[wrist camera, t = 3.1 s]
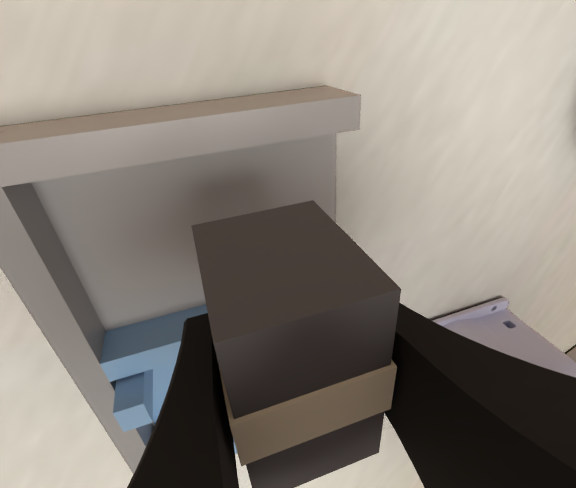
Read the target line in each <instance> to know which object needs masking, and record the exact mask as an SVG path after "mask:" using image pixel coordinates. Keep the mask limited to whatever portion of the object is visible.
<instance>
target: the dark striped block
mask: <svg viewBox="0 0 576 488" xmlns="http://www.w3.org/2000/svg"><path fill="white" fill-rule="evenodd" d="M191 226H192V232H193V237H194V242H195V248H196V253H197V258H198V264H199V269H200V274H201V280H202V285H203V290H204V296H205V301H206V306H207V312H208V317H209V322H210V328H211V333H212V338H213V344H214V348H215V351H216V355H217V361H218V366H219V371H220V377H221V382H222V387H223V392H224V398H225V403H226V408H227V413H228V419H229V424H230V428H231V432H232V435H233V439H234V442H235V446H236V449H237V453H238V456H239V460H240V463H241V466H243V465H246V466H247V470H248V474H249V478H250V481H251V485H252V488H294V487H297V486H299V485H301V484H304V483H306V482H309V481H311V480H314V479H316V478H318V477H321V476H323V475H326V474H328V473H330V472H333V471H335V470H338V469H340V468H343V467H345V466H347V465H350V464H352V463H355V462H357V461H359V460H362V459H364V458H367V457H369V456H372V455H374V454H376V453H379V447H380V440H381V432H382V425H383V418H384V411H387V410H389V409H391V404H392V397H393V391H394V384H395V378H396V371H397V366H396V365H395V363H394V362H393V361H392V352H393V345H394V337H395V330H396V323H397V315H398V308H399V301H400V293H401V289H400V288H399V286H398V285H397V284H396V283H395V282H394V281H393V280H392V279H391V278H390V277H389V276H388V275H387V274H386V273H385V272H384V271H383V270H382V269H381V268H380V267H379V266H378V265H377V264H376V263H375V262H374V261H373V260H372V259H371V258H370V257H369V256H368V255H367V254H366V253H365V252H364V251H363V250H362V249H361V248H360V247H359V246H358V245H357V244H356V243H355V242H354V241H353V240H352V239H351V238H350V237H349V236H348V235H347V234H346V233H345V232H344V231H343V230H342V229H341V228H340V227H339V226H338V225H337V224H336V223H335V222H334V221H333V220H332V219H331V218H330V217H329V216H328V215H327V214H326V213H325V212H324V211H323V210H322V209H321V208H320V207H319V206H318V205H317V204H316V203H315V202H314V201H313V200H311V201H307V202H302V203H297V204H292V205H287V206H283V207H278V208H273V209H268V210H263V211H259V212H254V213H249V214H244V215H239V216H235V217H230V218H225V219H220V220H215V221H210V222H206V223H201V224H196V225H191Z"/></svg>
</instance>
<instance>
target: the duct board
mask: <svg viewBox="0 0 576 488" xmlns="http://www.w3.org/2000/svg"><path fill="white" fill-rule="evenodd" d="M360 104H361V95H359V94H355V93H351V92H348V91H344V90H340V89H336V88H333V87H329V86H321V87H313V88H305V89H297V90H289V91H281V92H273V93H265V94H257V95H249V96H241V97H233V98H225V99H217V100H209V101H200V102H192V103H184V104H176V105H168V106H160V107H152V108H144V109H136V110H128V111H120V112H112V113H104V114H96V115H88V116H80V117H72V118H64V119H56V120H48V121H40V122H32V123H24V124H16V125H8V126H0V267H1V269H2V271H3V272H4V274H5V275H6V277H7V278H8V280H9V281H10V283H11V285H12V286H13V288H14V289H15V291H16V292H17V294H18V295H19V297H20V298H21V300H22V302H23V303H24V305H25V306H26V308H27V309H28V311H29V312H30V314H31V316H32V317H33V319H34V320H35V322H36V323H37V325H38V326H39V328H40V330H41V331H42V333H43V334H44V336H45V337H46V339H47V340H48V342H49V344H50V345H51V347H52V348H53V350H54V351H55V353H56V354H57V356H58V357H59V359H60V361H61V362H62V364H63V365H64V367H65V368H66V370H67V371H68V373H69V375H70V376H71V378H72V379H73V381H74V382H75V384H76V385H77V387H78V389H79V390H80V392H81V393H82V395H83V396H84V398H85V399H86V401H87V403H88V404H89V406H90V407H91V409H92V410H93V412H94V413H95V415H96V416H97V418H98V420H99V421H100V423H101V424H102V426H103V427H104V429H105V430H106V432H107V434H108V435H109V437H110V438H111V440H112V441H113V443H114V444H115V446H116V448H117V449H118V451H119V452H120V454H121V455H122V457H123V458H124V460H125V462H126V463H127V465H128V466H129V468H130V469H131V471H132V472H133V474H134V473H135V471H136V468H137V466H138V464H139V462H140V459H141V457H142V455H143V453H144V450H145V448H146V446H147V443H148V441H149V439H150V436H151V434H152V431H153V429H154V426H155V424H156V421H157V418H158V416H159V413H160V410H161V407H162V405H163V402H164V399H165V396H166V393H167V391H168V387H169V384H170V381H171V378H172V374H173V371H174V367H175V364H176V360H177V356H178V352H179V348H180V344H181V339H182V333H183V326H184V322H185V320H186V319H187V318H191V317H194V316H198V315H202V314H206V313H208V312H207V306H206V301H205V296H204V290H203V285H202V280H201V274H200V269H199V264H198V258H197V253H196V248H195V242H194V237H193V232H192V226H191V225H196V224H201V223H206V222H210V221H215V220H220V219H225V218H230V217H235V216H239V215H244V214H249V213H254V212H259V211H263V210H268V209H273V208H278V207H283V206H287V205H292V204H297V203H302V202H307V201H311V200H313V201H314V202H315V203H316V204H317V205H318V206H319V207H320V208H321V209H322V210H323V211H324V212H325V213H326V214H327V215H328V216H329V217H330V218H331V219H332V220H333V221H334V222H335V214H336V133H340V132H346V131H352V130H358V129H359V126H360ZM233 441H234V439H233ZM234 451H235V453H237V449H236V446H235V442H234Z"/></svg>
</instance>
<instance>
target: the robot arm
mask: <svg viewBox="0 0 576 488" xmlns="http://www.w3.org/2000/svg"><path fill="white" fill-rule="evenodd" d="M508 304H509V300H507V299H506V298H500V299H496V300H493V301H490V302H487V303H484V304H481V305H478V306H475V307H472V308H469V309H466V310H463V311H460V312H457V313H454V314H451V315H448V316H445V317H442V318H439V319H436V320H432V321H431V320H429V319H427V318H426V317H424V316H422V315H420V314H418V313H416V312H415V311H413V310H411V309H409V308H407V307H406V306H404V305H402V304H400V303H399V308H398V315H397V323H396V330H395V337H394V345H393V352H392V361H393V362H394V363H395V365H396V366H397V371H396V378H395V384H394V391H393V397H392V404H391V409H389V410H387V411H384V413H385V414H386V416H387V417H388V419H389V421H390V422H391V424H392V426H393V428H394V429H395V431H396V433H397V435H398V436H399V438H400V440H401V442H402V444H403V446H404V448H405V450H406V452H407V454H408V456H409V458H410V459H411V461H412V463H413V465H414V467H415V469H416V471H417V473H418V475H419V477H420V479H421V481H422V483H423V485H424V487H425V488H576V362H575V361H574V360H572V359H571V358H570V357H569V356H567V355H566V354H565V353H563V352H562V351H561V350H559V349H558V348H557V347H556V346H554V345H553V344H552V343H550V342H549V341H548V340H546V339H545V338H544V337H543V336H541V335H540V334H539V333H537V332H536V331H535V330H533V329H532V328H531V327H529V326H528V325H527V324H526V323H524V322H523V321H522V320H520V319H519V318H518V317H516V316H515V315H514V314H513V313H511V312H510V311H509V310H507V307H508ZM127 488H239V484H238V477H237V469H236V460H235V451H234V441H233V435H232V432H231V428H230V424H229V419H228V413H227V408H226V403H225V398H224V392H223V387H222V382H221V377H220V371H219V366H218V361H217V355H216V351H215V348H214V344H213V338H212V333H211V328H210V322H209V317H208V313H206V314H202V315H198V316H194V317H191V318H187V319H186V320H185V322H184V326H183V333H182V339H181V344H180V348H179V352H178V356H177V360H176V364H175V367H174V371H173V374H172V378H171V381H170V384H169V387H168V391H167V393H166V396H165V399H164V402H163V405H162V407H161V410H160V413H159V416H158V418H157V421H156V424H155V426H154V429H153V431H152V434H151V436H150V439H149V441H148V443H147V446H146V448H145V450H144V453H143V455H142V457H141V459H140V462H139V464H138V466H137V468H136V471H135V473H134V475H133V477H132V479H131V481H130V483H129V485H128V487H127Z"/></svg>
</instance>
